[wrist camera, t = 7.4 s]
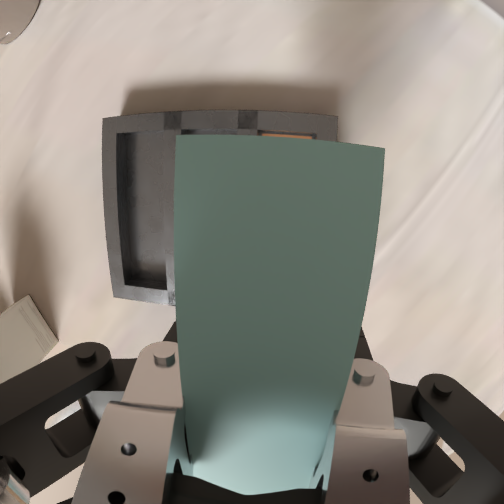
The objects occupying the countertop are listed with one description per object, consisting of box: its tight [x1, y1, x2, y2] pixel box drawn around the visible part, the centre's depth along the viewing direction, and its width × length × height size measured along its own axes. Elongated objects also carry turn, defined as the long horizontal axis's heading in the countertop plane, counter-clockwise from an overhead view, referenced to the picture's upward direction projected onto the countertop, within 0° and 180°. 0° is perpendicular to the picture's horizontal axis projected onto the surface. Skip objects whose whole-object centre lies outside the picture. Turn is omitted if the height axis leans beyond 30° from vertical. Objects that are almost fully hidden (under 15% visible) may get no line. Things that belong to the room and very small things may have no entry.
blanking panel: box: [174, 135, 385, 495], centre depth 10 cm, size 12×3×10 cm, turn 178°
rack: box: [102, 110, 338, 306], centre depth 26 cm, size 17×20×3 cm
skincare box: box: [0, 295, 59, 384], centre depth 29 cm, size 8×6×15 cm
